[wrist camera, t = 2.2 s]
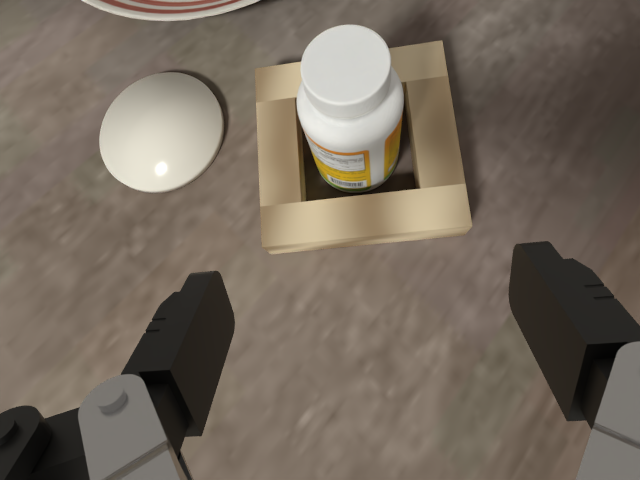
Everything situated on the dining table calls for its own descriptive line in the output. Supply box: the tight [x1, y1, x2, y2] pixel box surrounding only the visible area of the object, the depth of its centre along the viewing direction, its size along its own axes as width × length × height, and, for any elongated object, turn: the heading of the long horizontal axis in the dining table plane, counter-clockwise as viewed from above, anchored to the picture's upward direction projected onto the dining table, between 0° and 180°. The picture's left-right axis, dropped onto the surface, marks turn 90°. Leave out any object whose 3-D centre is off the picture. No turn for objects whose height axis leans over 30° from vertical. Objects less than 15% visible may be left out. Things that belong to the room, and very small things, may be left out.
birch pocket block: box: [255, 40, 472, 254], centre depth 26 cm, size 12×12×2 cm
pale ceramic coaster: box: [100, 72, 224, 193], centre depth 30 cm, size 9×9×1 cm
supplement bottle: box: [297, 25, 404, 193], centre depth 23 cm, size 5×5×10 cm
